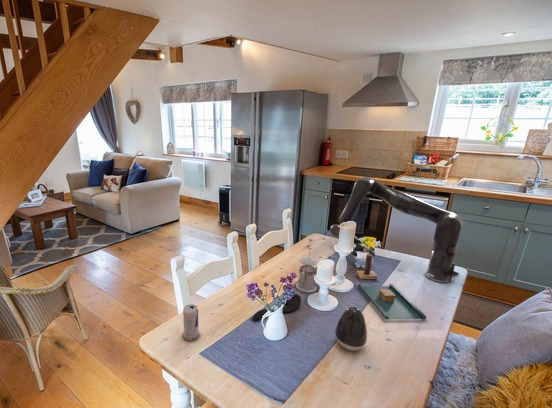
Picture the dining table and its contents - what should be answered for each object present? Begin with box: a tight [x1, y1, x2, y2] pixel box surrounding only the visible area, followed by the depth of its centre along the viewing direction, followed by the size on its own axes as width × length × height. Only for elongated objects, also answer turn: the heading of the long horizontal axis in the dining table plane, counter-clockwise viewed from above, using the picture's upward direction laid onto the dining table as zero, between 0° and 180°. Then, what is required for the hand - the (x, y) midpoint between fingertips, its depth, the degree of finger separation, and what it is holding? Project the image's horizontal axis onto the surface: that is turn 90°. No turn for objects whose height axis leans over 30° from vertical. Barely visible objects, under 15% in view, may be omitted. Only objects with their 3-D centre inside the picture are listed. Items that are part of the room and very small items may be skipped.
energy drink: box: [182, 304, 199, 342], centre depth 113 cm, size 5×5×12 cm
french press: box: [295, 237, 319, 294], centre depth 142 cm, size 10×12×25 cm
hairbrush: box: [252, 292, 302, 322], centre depth 129 cm, size 8×4×25 cm
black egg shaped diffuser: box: [334, 306, 368, 352], centre depth 108 cm, size 10×10×15 cm
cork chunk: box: [379, 290, 395, 301], centre depth 134 cm, size 4×4×3 cm
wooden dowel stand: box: [355, 253, 378, 281], centre depth 151 cm, size 5×8×13 cm, turn 90°
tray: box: [357, 283, 427, 320], centre depth 133 cm, size 24×16×2 cm, turn 0°
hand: (365, 255), depth 153 cm, fingers open, 8 cm apart
